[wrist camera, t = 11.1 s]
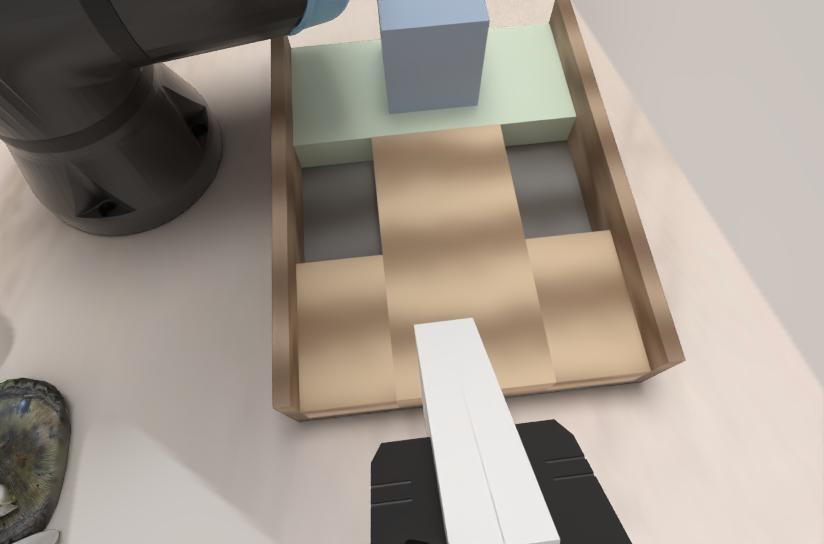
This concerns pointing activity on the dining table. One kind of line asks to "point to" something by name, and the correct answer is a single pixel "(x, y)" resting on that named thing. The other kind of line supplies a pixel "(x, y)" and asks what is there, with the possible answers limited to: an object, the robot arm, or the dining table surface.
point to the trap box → (460, 257)
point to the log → (30, 456)
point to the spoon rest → (41, 538)
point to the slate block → (432, 52)
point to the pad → (369, 114)
